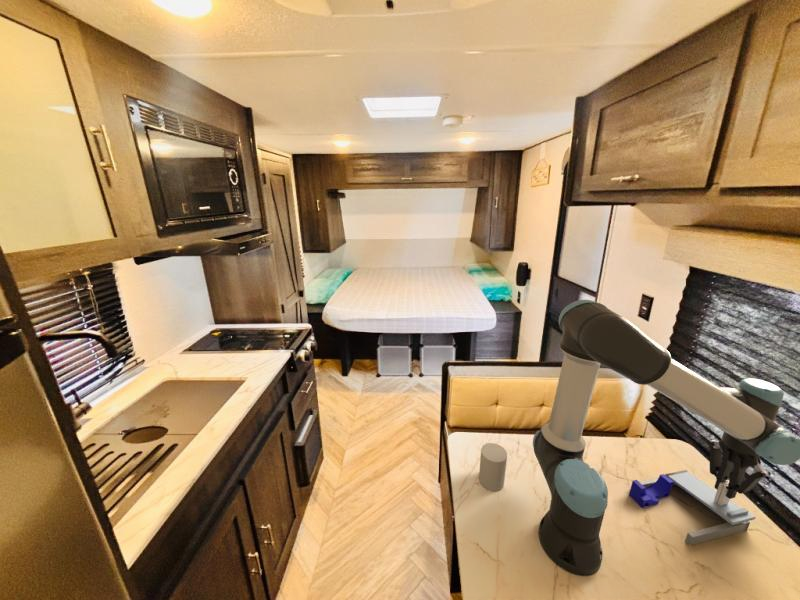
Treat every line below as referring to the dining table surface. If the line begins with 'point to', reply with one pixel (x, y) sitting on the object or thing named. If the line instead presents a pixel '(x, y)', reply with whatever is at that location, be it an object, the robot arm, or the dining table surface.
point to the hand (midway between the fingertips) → (720, 501)
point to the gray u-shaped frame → (707, 532)
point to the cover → (710, 497)
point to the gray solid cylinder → (492, 467)
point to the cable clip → (650, 491)
